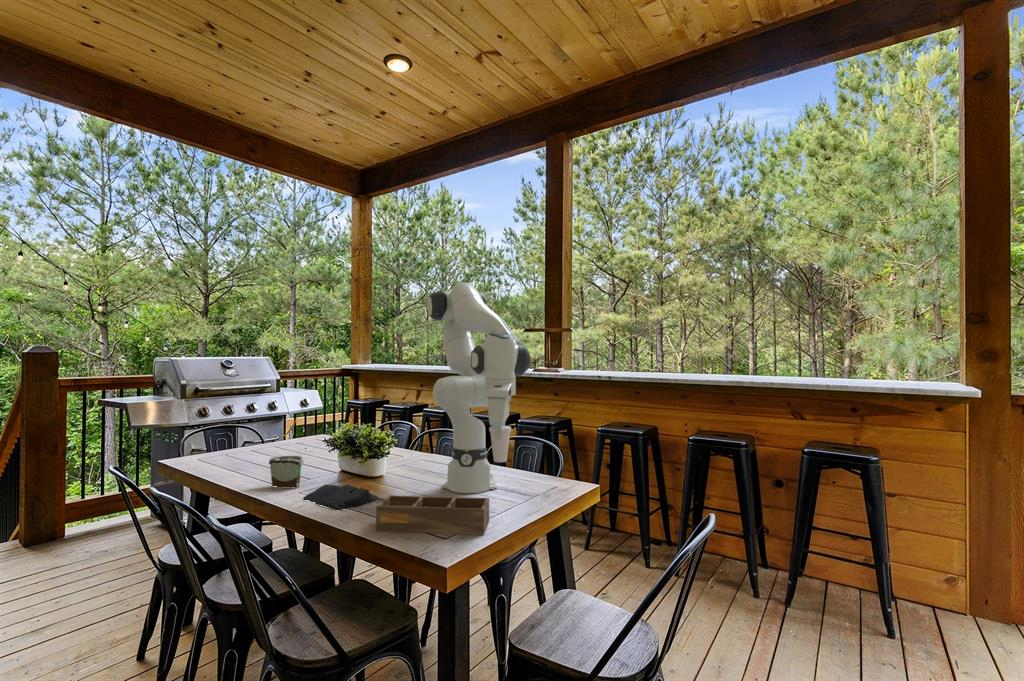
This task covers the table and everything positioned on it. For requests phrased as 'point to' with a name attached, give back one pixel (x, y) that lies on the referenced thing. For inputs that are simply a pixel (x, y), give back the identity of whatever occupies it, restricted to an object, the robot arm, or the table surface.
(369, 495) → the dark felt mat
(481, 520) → the caddy
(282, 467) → the food container
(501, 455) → the smoothie
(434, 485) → the table surface
